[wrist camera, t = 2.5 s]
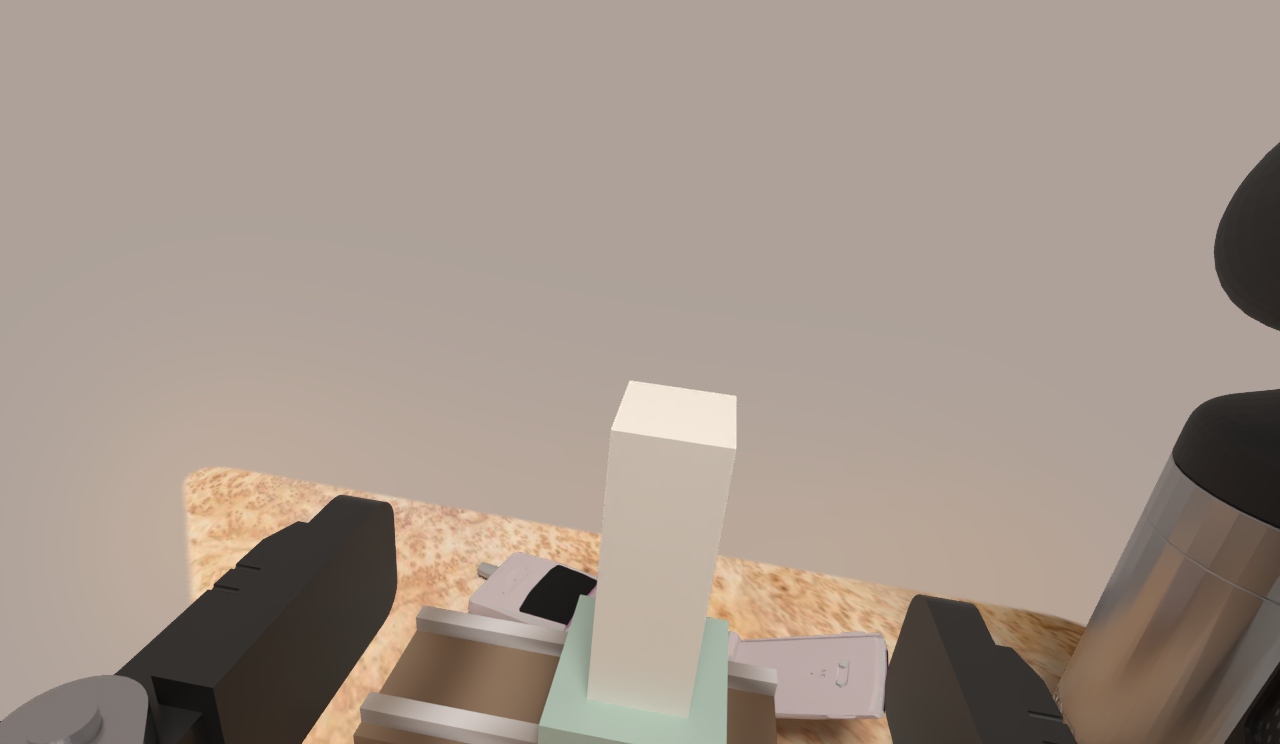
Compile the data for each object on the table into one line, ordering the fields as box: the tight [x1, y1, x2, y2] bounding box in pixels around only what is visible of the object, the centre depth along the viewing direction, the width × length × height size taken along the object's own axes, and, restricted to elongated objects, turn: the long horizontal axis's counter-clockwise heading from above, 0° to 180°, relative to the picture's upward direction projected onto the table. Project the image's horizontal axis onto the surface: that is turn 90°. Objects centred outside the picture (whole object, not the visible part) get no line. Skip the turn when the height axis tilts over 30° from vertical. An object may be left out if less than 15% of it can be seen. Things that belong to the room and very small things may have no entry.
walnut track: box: [353, 606, 778, 744], centre depth 29 cm, size 17×7×7 cm, turn 82°
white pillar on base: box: [538, 381, 736, 744], centre depth 25 cm, size 7×7×14 cm
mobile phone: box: [468, 552, 888, 719], centre depth 37 cm, size 6×6×25 cm
